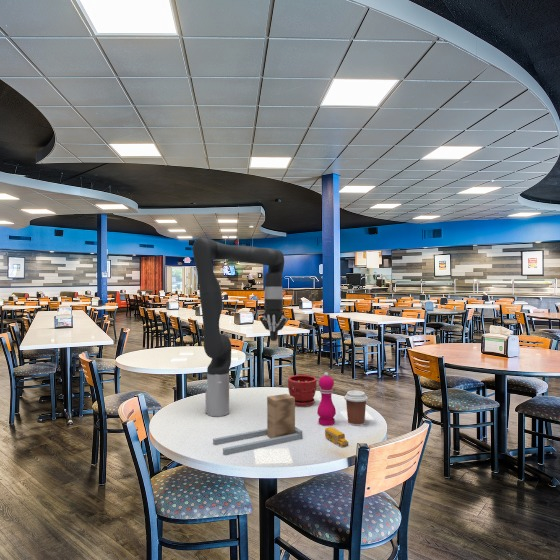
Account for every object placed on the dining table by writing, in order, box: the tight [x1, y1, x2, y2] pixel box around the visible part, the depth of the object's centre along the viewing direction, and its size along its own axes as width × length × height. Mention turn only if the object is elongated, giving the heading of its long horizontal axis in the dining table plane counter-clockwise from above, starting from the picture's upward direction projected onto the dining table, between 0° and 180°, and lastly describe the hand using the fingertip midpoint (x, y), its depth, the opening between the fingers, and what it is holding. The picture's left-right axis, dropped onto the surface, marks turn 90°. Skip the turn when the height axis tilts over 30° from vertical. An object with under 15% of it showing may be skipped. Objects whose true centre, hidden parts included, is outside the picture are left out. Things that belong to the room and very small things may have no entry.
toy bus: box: [324, 426, 349, 448], centre depth 141 cm, size 3×10×4 cm, turn 27°
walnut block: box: [266, 393, 296, 439], centre depth 145 cm, size 8×6×14 cm
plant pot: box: [287, 374, 317, 407], centre depth 188 cm, size 13×13×12 cm
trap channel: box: [212, 426, 303, 456], centre depth 141 cm, size 29×11×3 cm, turn 119°
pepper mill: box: [317, 371, 337, 427], centre depth 160 cm, size 7×7×20 cm
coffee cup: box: [343, 389, 369, 427], centre depth 160 cm, size 9×9×12 cm
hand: (273, 340), depth 165 cm, fingers closed
